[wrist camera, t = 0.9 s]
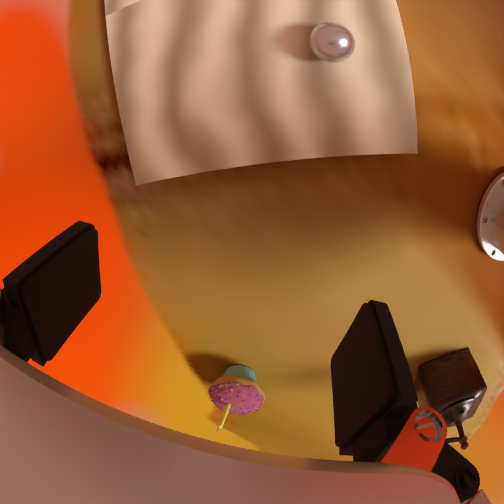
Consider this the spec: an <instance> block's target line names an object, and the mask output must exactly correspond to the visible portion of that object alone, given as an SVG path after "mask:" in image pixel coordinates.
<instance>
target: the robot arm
mask: <svg viewBox="0 0 504 504" xmlns="http://www.w3.org/2000/svg"><path fill="white" fill-rule="evenodd" d="M477 237H478V240H479V243H480V245H481V247H482V249H483V250H484V251H485V253H486V254H487V255H488V256H489V257H491V258H493V259H495V260H500V261H503V260H504V172H503V173H501V174H499V175H498V176H497V177H496V178H495V179H494V180H493V181H492V182H491V184H490V185H489V186H488V188H487V190H486V191H485V193H484V196H483V198H482V200H481V203H480V207H479V210H478V216H477ZM3 283H4V288H3V289H2V290H1V288H0V504H491V502H490V501H489V499H488V498H487V496H486V494H485V493H484V492H483V490H482V489H481V490H479V491H478V489H479V485H480V477H479V473H478V471H477V469H476V468H475V466H474V465H472V464H471V463H470V462H469V461H468V460H467V459H466V458H464V457H463V456H462V455H461V454H460V453H459V452H457V451H456V450H455V449H454V448H453V447H452V446H450V445H449V444H448V443H447V442H446V441H445V440H446V436H447V426H446V423H445V420H444V419H443V417H442V416H441V415H440V414H439V413H438V412H437V411H436V410H434V409H432V408H430V407H426V406H425V407H419V408H418V407H417V403H416V402H417V401H418V397H417V393H416V390H415V386H414V383H413V379H412V376H411V373H410V369H409V366H408V363H407V360H406V357H405V354H404V350H403V347H402V344H401V341H400V339H399V336H398V333H397V330H396V327H395V324H394V321H393V319H392V316H391V313H390V311H389V308H388V305H387V304H386V303H382V302H378V301H374V300H370V301H369V302H368V303H364V304H363V305H362V306H361V308H360V310H359V312H358V314H357V316H356V317H355V319H354V321H353V323H352V324H351V326H350V328H349V330H348V331H347V333H346V335H345V336H344V338H343V340H342V341H341V343H340V345H339V346H338V348H337V350H336V351H335V353H334V354H333V356H332V359H331V376H332V390H333V406H334V427H335V444H336V446H337V447H339V453H340V455H350V456H353V461H354V462H352V461H334V460H322V459H312V458H302V457H294V456H286V455H279V454H272V453H266V452H260V451H255V450H249V449H244V448H239V447H235V446H230V445H226V444H222V443H217V442H213V441H210V440H206V439H202V438H198V437H195V436H191V435H188V434H184V433H181V432H178V431H174V430H172V429H168V428H165V427H162V426H160V425H157V424H154V423H151V422H148V421H145V420H143V419H140V418H137V417H135V416H132V415H130V414H127V413H125V412H122V411H120V410H118V409H115V408H113V407H111V406H108V405H106V404H104V403H102V402H99V401H97V400H95V399H92V398H91V397H88V396H87V395H85V394H82V393H80V392H78V391H76V390H74V389H73V388H70V387H69V386H67V385H65V384H63V383H61V382H59V381H58V380H56V379H54V378H52V377H50V376H49V375H47V374H45V373H43V372H42V371H40V370H38V369H37V368H35V367H33V366H32V365H30V364H29V363H28V360H29V359H30V358H31V359H32V360H33V361H35V362H36V363H38V364H39V365H41V366H44V365H45V363H46V362H47V361H50V360H52V358H53V357H54V356H55V355H56V353H57V352H58V351H59V349H60V348H61V347H62V345H63V344H64V343H65V341H66V340H67V339H68V337H69V336H70V335H71V334H72V332H73V331H74V330H75V328H76V327H77V326H78V324H79V323H80V322H81V321H82V319H83V318H84V317H85V316H86V314H87V313H88V312H89V311H90V310H91V308H92V307H93V306H94V305H95V303H96V302H97V301H98V300H99V298H100V295H101V281H100V269H99V252H98V232H97V230H95V227H94V225H92V224H89V223H86V222H83V221H78V222H76V223H75V224H73V225H72V226H70V227H69V228H68V229H66V230H65V231H63V232H62V233H61V234H59V235H58V236H56V237H55V238H54V239H52V240H51V241H50V242H48V243H47V244H46V245H44V246H43V247H42V248H41V249H39V250H38V251H37V252H36V253H34V254H33V255H32V256H30V257H29V258H28V259H27V260H25V261H24V262H23V263H22V264H21V265H19V266H18V267H17V268H16V269H14V270H13V271H12V272H11V273H10V274H9V275H8V276H6V277H5V278H4V279H3Z"/></svg>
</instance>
